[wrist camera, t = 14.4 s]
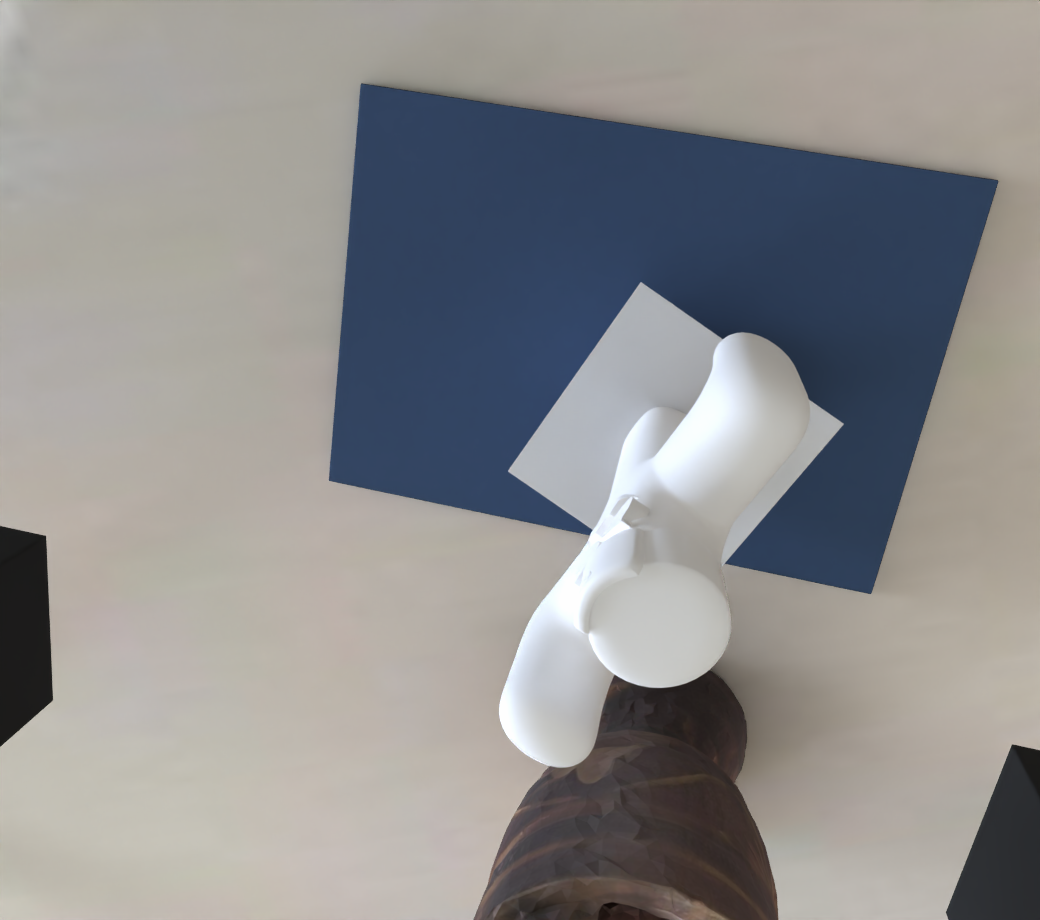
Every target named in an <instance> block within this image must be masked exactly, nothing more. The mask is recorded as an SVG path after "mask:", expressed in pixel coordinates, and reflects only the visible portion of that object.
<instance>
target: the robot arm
mask: <svg viewBox="0 0 1040 920" xmlns="http://www.w3.org/2000/svg"><path fill="white" fill-rule="evenodd" d="M52 701H53V690H52V666H51V643H50V619H49V595H48V571H47V548H46V536H44V535H39V534H34V533H30V532H25V531H20V530H16V529H11V528H6V527H2V526H0V746H2V745H3V744H4V743H5V742H6V741H7V740H8V739H9V738H11V737H12V736H13V735H14V734H15V733H16V732H17V731H19V730H20V729H21V728H22V727H23V726H24V725H25V724H27V723H28V722H29V721H30V720H31V719H32V718H33V717H34V716H36V715H37V714H38V713H39V712H40V711H41V710H42V709H44V708H45V707H46V706H47V705H48V704H49V703H50V702H52ZM946 914H947V917H948V920H1040V750H1035V749H1031V748H1026V747H1021V746H1017V745H1012V746H1011V749H1010V751H1009V754H1008V756H1007V759H1006V761H1005V764H1004V766H1003V769H1002V771H1001V774H1000V777H999V779H998V782H997V784H996V787H995V789H994V792H993V794H992V797H991V799H990V802H989V805H988V807H987V810H986V812H985V815H984V817H983V820H982V822H981V825H980V827H979V830H978V832H977V835H976V838H975V840H974V843H973V845H972V848H971V850H970V853H969V855H968V858H967V860H966V863H965V866H964V868H963V871H962V873H961V876H960V878H959V881H958V883H957V886H956V888H955V891H954V893H953V896H952V899H951V901H950V904H949V906H948V909H947V911H946Z"/></svg>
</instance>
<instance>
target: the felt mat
mask: <svg viewBox="0 0 1040 920" xmlns="http://www.w3.org/2000/svg"><path fill="white" fill-rule="evenodd" d="M997 184H998V180H992V179H985V178H979V177H972V176H966V175H959V174H953V173H946V172H939V171H933V170H926V169H920V168H913V167H907V166H900V165H893V164H887V163H880V162H874V161H867V160H861V159H854V158H847V157H841V156H834V155H828V154H821V153H815V152H808V151H802V150H795V149H788V148H782V147H775V146H769V145H762V144H756V143H749V142H742V141H736V140H729V139H723V138H716V137H710V136H703V135H696V134H690V133H683V132H677V131H670V130H664V129H657V128H651V127H644V126H637V125H631V124H624V123H618V122H611V121H605V120H598V119H591V118H585V117H578V116H572V115H565V114H559V113H552V112H545V111H539V110H532V109H526V108H519V107H513V106H506V105H500V104H493V103H486V102H480V101H473V100H467V99H460V98H454V97H447V96H440V95H434V94H427V93H421V92H414V91H408V90H401V89H394V88H388V87H381V86H375V85H368V84H361V88H360V100H359V113H358V125H357V138H356V150H355V163H354V175H353V187H352V200H351V212H350V225H349V237H348V250H347V262H346V275H345V287H344V300H343V312H342V324H341V337H340V349H339V362H338V374H337V387H336V399H335V412H334V424H333V437H332V449H331V461H330V474H329V481H333V482H338V483H343V484H347V485H352V486H357V487H362V488H366V489H371V490H376V491H381V492H386V493H390V494H395V495H400V496H405V497H409V498H414V499H419V500H424V501H429V502H433V503H438V504H443V505H448V506H452V507H457V508H462V509H467V510H472V511H476V512H481V513H486V514H491V515H495V516H500V517H505V518H510V519H515V520H519V521H524V522H529V523H534V524H538V525H543V526H548V527H553V528H558V529H562V530H567V531H572V532H577V533H581V534H586V535H590V534H591V532H592V531H593V530H592V529H591V528H589V527H588V526H586V525H585V524H583V523H582V522H581V521H579V520H578V519H576V518H575V517H573V516H572V515H570V514H569V513H567V512H566V511H565V510H563V509H562V508H560V507H559V506H557V505H556V504H554V503H553V502H551V501H550V500H549V499H547V498H546V497H544V496H543V495H541V494H540V493H538V492H537V491H536V490H534V489H533V488H531V487H530V486H528V485H527V484H525V483H524V482H522V481H521V480H520V479H518V478H517V477H515V476H514V475H512V474H511V473H509V472H508V470H509V469H510V467H511V466H512V464H513V463H514V461H515V460H516V459H517V457H518V456H519V454H520V453H521V451H522V450H523V449H524V447H525V446H526V444H527V443H528V442H529V440H530V439H531V437H532V436H533V434H534V433H535V432H536V430H537V429H538V427H539V426H540V425H541V423H542V422H543V420H544V419H545V417H546V416H547V415H548V413H549V412H550V410H551V409H552V407H553V406H554V405H555V403H556V402H557V400H558V399H559V398H560V396H561V395H562V393H563V392H564V390H565V389H566V388H567V386H568V385H569V383H570V382H571V380H572V379H573V378H574V376H575V375H576V373H577V372H578V371H579V369H580V368H581V366H582V365H583V363H584V362H585V361H586V359H587V358H588V356H589V355H590V353H591V352H592V351H593V349H594V348H595V346H596V345H597V344H598V342H599V341H600V339H601V338H602V336H603V335H604V334H605V332H606V331H607V329H608V328H609V326H610V325H611V324H612V322H613V321H614V319H615V318H616V317H617V315H618V314H619V312H620V311H621V309H622V308H623V307H624V305H625V304H626V302H627V301H628V300H629V298H630V297H631V295H632V294H633V292H634V291H635V290H636V288H637V287H638V285H639V284H640V282H642V283H643V284H644V285H646V286H647V287H649V288H650V289H652V290H653V291H655V292H656V293H657V294H659V295H660V296H662V297H663V298H665V299H666V300H667V301H669V302H670V303H672V304H673V305H675V306H676V307H677V308H679V309H680V310H682V311H683V312H685V313H686V314H687V315H689V316H690V317H692V318H693V319H695V320H696V321H697V322H699V323H700V324H702V325H703V326H705V327H706V328H707V329H709V330H710V331H712V332H713V333H715V334H716V335H717V336H719V337H720V338H722V339H724V338H726V337H727V336H729V335H731V334H734V333H741V332H744V333H751V334H755V335H758V336H761V337H763V338H765V339H767V340H769V341H770V342H772V343H774V344H775V345H776V346H778V347H779V348H780V349H781V350H782V351H783V352H784V353H785V354H786V355H787V356H788V357H789V358H790V359H791V361H792V362H793V364H794V365H795V368H796V370H797V372H798V374H799V376H800V379H801V381H802V383H803V386H804V388H805V390H806V393H807V395H808V399H809V400H810V401H812V402H813V403H815V404H816V405H817V406H819V407H820V408H822V409H823V410H825V411H826V412H827V413H829V414H830V415H832V416H833V417H835V418H836V419H837V420H839V421H840V422H842V423H843V424H844V425H843V426H842V427H841V428H840V429H839V430H838V432H837V433H836V434H835V435H834V436H833V437H832V439H831V440H830V441H829V442H828V443H827V444H826V446H825V447H824V448H823V449H822V450H821V451H820V453H819V454H818V455H817V456H816V457H815V458H814V460H813V461H812V462H811V463H810V464H809V465H808V467H807V468H806V469H805V470H804V471H803V472H802V474H801V475H800V476H799V477H798V478H797V479H796V481H795V482H794V483H793V484H792V485H791V486H790V488H789V489H788V490H787V491H786V492H785V493H784V495H783V496H782V497H781V498H780V499H779V500H778V502H777V503H776V504H775V505H774V506H773V507H772V509H771V510H770V511H769V512H768V513H767V514H766V516H765V517H764V518H763V519H762V520H761V522H760V523H759V524H758V525H757V526H756V527H755V529H754V530H753V531H752V532H751V533H750V534H749V536H748V537H747V538H746V539H745V540H744V541H743V543H742V544H741V545H740V546H739V547H738V548H737V550H736V551H735V552H734V553H733V554H732V555H731V557H730V558H729V559H728V560H727V561H726V562H725V564H730V565H734V566H739V567H744V568H749V569H753V570H758V571H763V572H768V573H773V574H777V575H782V576H787V577H792V578H796V579H801V580H806V581H811V582H816V583H820V584H825V585H830V586H835V587H839V588H844V589H849V590H854V591H859V592H863V593H868V594H871V593H872V590H873V587H874V583H875V580H876V577H877V574H878V570H879V567H880V564H881V561H882V557H883V554H884V551H885V548H886V544H887V541H888V538H889V535H890V531H891V528H892V525H893V522H894V518H895V515H896V512H897V509H898V506H899V502H900V499H901V496H902V493H903V489H904V486H905V483H906V480H907V476H908V473H909V470H910V467H911V463H912V460H913V457H914V454H915V450H916V447H917V444H918V441H919V437H920V434H921V431H922V428H923V424H924V421H925V418H926V415H927V411H928V408H929V405H930V402H931V399H932V395H933V392H934V389H935V386H936V382H937V379H938V376H939V373H940V369H941V366H942V363H943V360H944V356H945V353H946V350H947V347H948V343H949V340H950V337H951V334H952V330H953V327H954V324H955V321H956V317H957V314H958V311H959V308H960V304H961V301H962V298H963V295H964V292H965V288H966V285H967V282H968V279H969V275H970V272H971V269H972V266H973V262H974V259H975V256H976V253H977V249H978V246H979V243H980V240H981V236H982V233H983V230H984V227H985V223H986V220H987V217H988V214H989V210H990V207H991V204H992V201H993V197H994V194H995V191H996V188H997Z"/></svg>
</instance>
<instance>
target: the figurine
mask: <svg viewBox="0 0 1040 920" xmlns="http://www.w3.org/2000/svg"><path fill="white" fill-rule="evenodd" d="M843 425H844V424H843V423H842V422H840V421H839V420H837V419H836V418H835V417H833V416H832V415H830V414H829V413H827V412H826V411H825V410H823V409H822V408H820V407H819V406H817V405H816V404H815V403H813V402H812V401H810V400H809V399H808V395H807V393H806V390H805V388H804V386H803V383H802V381H801V379H800V376H799V374H798V372H797V370H796V368H795V365H794V364H793V362H792V361H791V359H790V358H789V357H788V356H787V355H786V354H785V353H784V352H783V351H782V350H781V349H780V348H779V347H778V346H776V345H775V344H774V343H772V342H770V341H769V340H767V339H765V338H763V337H761V336H758V335H755V334H751V333H744V332H741V333H734V334H731V335H729V336H727V337H726V338H724V339H722V338H720V337H719V336H717V335H716V334H715V333H713V332H712V331H710V330H709V329H707V328H706V327H705V326H703V325H702V324H700V323H699V322H697V321H696V320H695V319H693V318H692V317H690V316H689V315H687V314H686V313H685V312H683V311H682V310H680V309H679V308H677V307H676V306H675V305H673V304H672V303H670V302H669V301H667V300H666V299H665V298H663V297H662V296H660V295H659V294H657V293H656V292H655V291H653V290H652V289H650V288H649V287H647V286H646V285H644V284H643V283H642V282H640V284H639V285H638V287H637V288H636V290H635V291H634V292H633V294H632V295H631V297H630V298H629V300H628V301H627V302H626V304H625V305H624V307H623V308H622V309H621V311H620V312H619V314H618V315H617V317H616V318H615V319H614V321H613V322H612V324H611V325H610V326H609V328H608V329H607V331H606V332H605V334H604V335H603V336H602V338H601V339H600V341H599V342H598V344H597V345H596V346H595V348H594V349H593V351H592V352H591V353H590V355H589V356H588V358H587V359H586V361H585V362H584V363H583V365H582V366H581V368H580V369H579V371H578V372H577V373H576V375H575V376H574V378H573V379H572V380H571V382H570V383H569V385H568V386H567V388H566V389H565V390H564V392H563V393H562V395H561V396H560V398H559V399H558V400H557V402H556V403H555V405H554V406H553V407H552V409H551V410H550V412H549V413H548V415H547V416H546V417H545V419H544V420H543V422H542V423H541V425H540V426H539V427H538V429H537V430H536V432H535V433H534V434H533V436H532V437H531V439H530V440H529V442H528V443H527V444H526V446H525V447H524V449H523V450H522V451H521V453H520V454H519V456H518V457H517V459H516V460H515V461H514V463H513V464H512V466H511V467H510V469H509V470H508V472H509V473H511V474H512V475H514V476H515V477H517V478H518V479H520V480H521V481H522V482H524V483H525V484H527V485H528V486H530V487H531V488H533V489H534V490H536V491H537V492H538V493H540V494H541V495H543V496H544V497H546V498H547V499H549V500H550V501H551V502H553V503H554V504H556V505H557V506H559V507H560V508H562V509H563V510H565V511H566V512H567V513H569V514H570V515H572V516H573V517H575V518H576V519H578V520H579V521H581V522H582V523H583V524H585V525H586V526H588V527H589V528H591V529H592V530H593V531H592V532H591V534H590V537H589V540H588V542H587V543H586V545H585V547H584V548H583V550H582V551H581V552H580V554H579V555H578V556H577V558H576V559H575V560H574V562H573V563H572V564H571V565H570V567H569V568H568V569H567V571H566V572H565V573H564V575H563V576H562V577H561V578H560V580H559V581H558V582H557V584H556V585H555V586H554V587H553V589H552V590H551V591H550V592H549V594H548V595H547V596H546V597H545V599H544V600H543V601H542V603H541V604H540V605H539V607H538V608H537V609H536V611H535V612H534V614H533V616H532V618H531V619H530V621H529V623H528V625H527V627H526V630H525V632H524V635H523V637H522V640H521V642H520V645H519V648H518V651H517V654H516V656H515V659H514V662H513V665H512V668H511V671H510V673H509V676H508V679H507V682H506V684H505V687H504V690H503V693H502V696H501V700H500V705H499V714H500V721H501V724H502V727H503V729H504V731H505V733H506V734H507V736H508V737H509V739H510V740H511V741H512V742H513V743H514V744H515V745H516V746H517V747H518V748H519V749H520V750H521V751H522V752H523V753H525V754H526V755H527V756H529V757H531V758H532V759H534V760H536V761H538V762H540V763H542V764H545V765H548V766H552V767H558V768H563V767H571V766H574V765H576V764H579V763H581V762H582V761H583V760H584V759H586V758H587V756H588V755H589V754H590V752H591V751H592V749H593V747H594V744H595V741H596V737H597V733H598V728H599V723H600V717H601V713H602V709H603V705H604V702H605V698H606V695H607V692H608V689H609V686H610V684H611V682H612V679H613V677H614V674H615V675H616V676H618V677H620V678H622V679H623V680H625V681H627V682H630V683H633V684H636V685H640V686H645V687H652V688H665V687H674V686H678V685H682V684H685V683H688V682H690V681H692V680H695V679H697V678H698V677H700V676H702V675H703V674H705V673H706V672H707V671H708V670H710V669H711V668H712V667H713V666H714V665H715V664H716V663H717V661H718V660H719V659H720V658H721V656H722V655H723V653H724V651H725V649H726V647H727V645H728V642H729V638H730V635H731V626H732V620H731V612H730V607H729V602H728V597H727V593H726V588H725V583H724V578H723V574H722V571H721V567H722V566H723V565H724V564H725V562H726V561H727V560H728V559H729V558H730V557H731V555H732V554H733V553H734V552H735V551H736V550H737V548H738V547H739V546H740V545H741V544H742V543H743V541H744V540H745V539H746V538H747V537H748V536H749V534H750V533H751V532H752V531H753V530H754V529H755V527H756V526H757V525H758V524H759V523H760V522H761V520H762V519H763V518H764V517H765V516H766V514H767V513H768V512H769V511H770V510H771V509H772V507H773V506H774V505H775V504H776V503H777V502H778V500H779V499H780V498H781V497H782V496H783V495H784V493H785V492H786V491H787V490H788V489H789V488H790V486H791V485H792V484H793V483H794V482H795V481H796V479H797V478H798V477H799V476H800V475H801V474H802V472H803V471H804V470H805V469H806V468H807V467H808V465H809V464H810V463H811V462H812V461H813V460H814V458H815V457H816V456H817V455H818V454H819V453H820V451H821V450H822V449H823V448H824V447H825V446H826V444H827V443H828V442H829V441H830V440H831V439H832V437H833V436H834V435H835V434H836V433H837V432H838V430H839V429H840V428H841V427H842V426H843Z"/></svg>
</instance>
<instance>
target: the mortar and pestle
mask: <svg viewBox="0 0 1040 920" xmlns="http://www.w3.org/2000/svg"><path fill="white" fill-rule="evenodd" d="M746 743H747V731H746V720H745V718H744V713H743V710H742V708H741V706H740V704H739V702H738V701H737V699H736V697H735V696H734V694H733V693H732V691H731V690H730V688H729V687H728V686H727V685H726V684H725V682H724V681H723V680H722V679H721V678H719V677H718V676H716V675H715V674H714V673H712V672H711V671H710V670H708V671H707V672H706V673H705V674H703V675H702V676H700V677H698V678H697V679H695V680H692V681H690V682H688V683H685V684H682V685H678V686H674V687H665V688H652V687H645V686H640V685H636V684H633V683H630V682H627V681H625V680H623V679H622V678H620V677H618V676H616V675H615V674H614V677H613V679H612V682H611V684H610V686H609V689H608V692H607V695H606V698H605V702H604V705H603V709H602V713H601V717H600V723H599V728H598V733H597V737H596V741H595V744H594V747H593V749H592V751H591V752H590V754H589V755H588V756H587V758H586V759H584V760H583V761H582V762H581V763H579V764H576V765H574V766H571V767H563V768H558V767H552V766H550V767H549V768H548V769H547V770H546V771H545V772H544V773H543V775H542V776H541V778H540V779H539V780H538V781H537V782H536V783H535V784H534V785H533V786H532V787H531V788H530V789H529V790H528V792H527V794H526V795H525V797H524V799H523V801H522V802H521V804H520V806H519V807H518V809H517V811H516V812H515V814H514V816H513V818H512V820H511V822H510V824H509V826H508V828H507V830H506V832H505V834H504V837H503V839H502V842H501V845H500V848H499V850H498V853H497V856H496V859H495V861H494V864H493V867H492V870H491V874H490V878H489V882H488V886H487V888H486V890H485V892H484V895H483V897H482V900H481V902H480V905H479V907H478V910H477V912H476V915H475V917H474V920H778V908H777V894H776V889H775V883H774V879H773V875H772V872H771V868H770V864H769V860H768V856H767V851H766V847H765V845H764V842H763V840H762V838H761V835H760V833H759V830H758V828H757V826H756V823H755V821H754V820H753V818H752V816H751V814H750V812H749V810H748V808H747V805H746V803H745V801H744V798H743V796H742V794H741V793H740V791H739V789H738V787H737V786H736V785H735V784H734V783H735V781H736V779H737V777H738V775H739V773H740V771H741V769H742V765H743V761H744V757H745V749H746Z"/></svg>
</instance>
